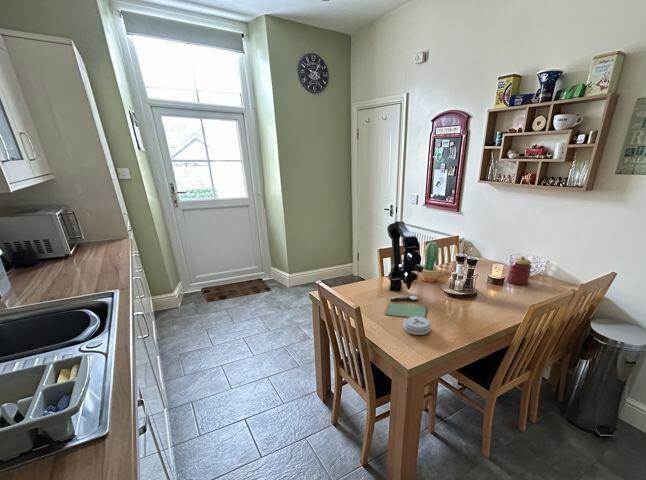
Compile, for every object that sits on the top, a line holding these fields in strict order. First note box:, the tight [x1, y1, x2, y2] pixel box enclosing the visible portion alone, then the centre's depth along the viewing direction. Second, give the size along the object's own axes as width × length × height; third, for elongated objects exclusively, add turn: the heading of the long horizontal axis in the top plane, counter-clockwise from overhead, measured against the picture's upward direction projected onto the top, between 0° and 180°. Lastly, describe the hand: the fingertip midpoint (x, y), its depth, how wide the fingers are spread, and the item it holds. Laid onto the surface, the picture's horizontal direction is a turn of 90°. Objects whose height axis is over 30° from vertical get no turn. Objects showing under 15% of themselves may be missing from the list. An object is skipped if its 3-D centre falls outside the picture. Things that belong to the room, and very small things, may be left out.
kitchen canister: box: [506, 255, 533, 286], centre depth 214 cm, size 13×13×18 cm
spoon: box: [389, 295, 418, 303], centre depth 185 cm, size 16×5×2 cm, turn 98°
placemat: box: [385, 302, 427, 319], centre depth 173 cm, size 20×14×1 cm
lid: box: [403, 316, 432, 336], centre depth 153 cm, size 13×13×5 cm
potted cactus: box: [419, 241, 442, 283], centre depth 213 cm, size 15×15×25 cm
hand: (406, 286), depth 182 cm, fingers open, 9 cm apart
